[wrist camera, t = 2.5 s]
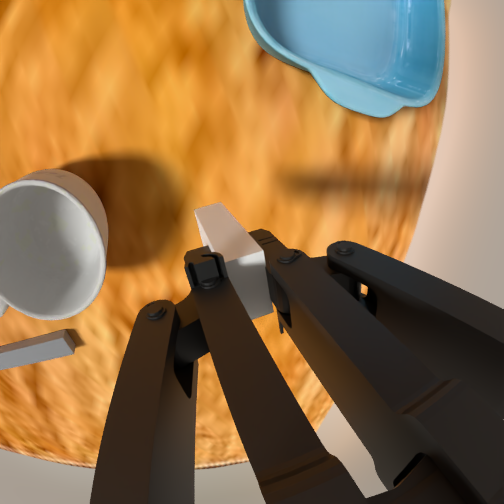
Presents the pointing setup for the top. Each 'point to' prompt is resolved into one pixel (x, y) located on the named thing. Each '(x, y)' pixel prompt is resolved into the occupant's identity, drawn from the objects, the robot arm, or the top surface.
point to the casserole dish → (358, 47)
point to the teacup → (51, 245)
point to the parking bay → (36, 349)
